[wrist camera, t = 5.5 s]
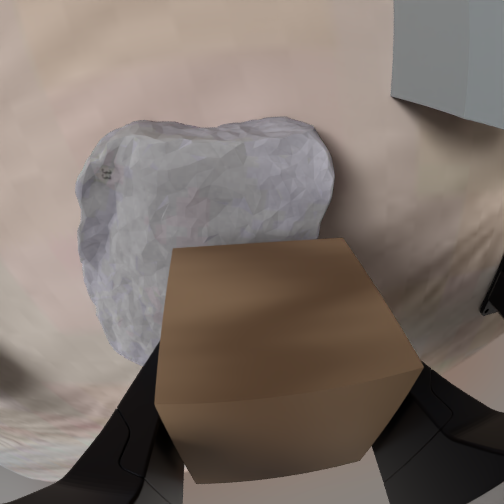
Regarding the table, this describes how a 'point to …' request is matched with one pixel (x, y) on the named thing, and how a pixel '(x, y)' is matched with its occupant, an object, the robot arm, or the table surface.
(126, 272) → the stone block
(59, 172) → the table surface
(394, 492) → the robot arm
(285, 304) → the walnut cube
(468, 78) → the slate cube
